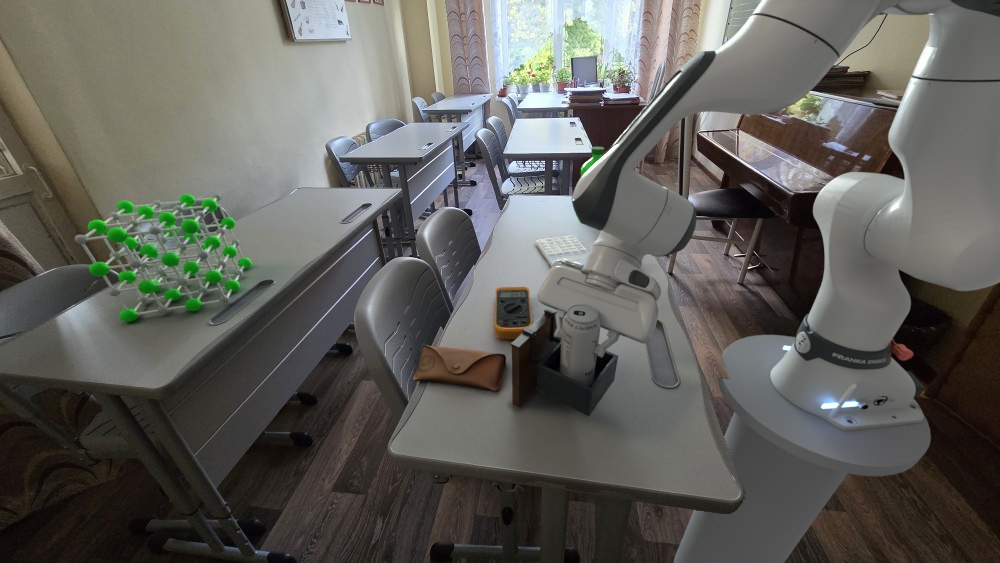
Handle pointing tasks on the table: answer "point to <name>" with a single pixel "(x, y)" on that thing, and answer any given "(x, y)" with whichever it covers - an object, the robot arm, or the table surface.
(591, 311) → the energy drink can
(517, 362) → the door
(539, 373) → the dark grey open box
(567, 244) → the calculator
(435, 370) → the sunglasses case
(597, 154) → the plastic bottle
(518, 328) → the multimeter
